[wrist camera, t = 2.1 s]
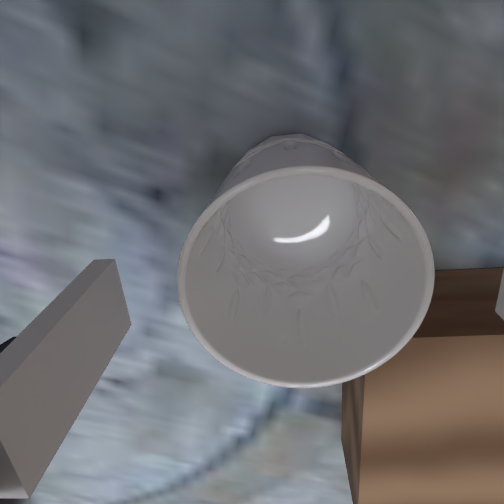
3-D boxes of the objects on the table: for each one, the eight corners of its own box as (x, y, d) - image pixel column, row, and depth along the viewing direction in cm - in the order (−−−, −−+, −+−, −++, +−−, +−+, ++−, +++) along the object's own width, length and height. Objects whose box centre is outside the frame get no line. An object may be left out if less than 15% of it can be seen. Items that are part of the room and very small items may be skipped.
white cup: (391, 153, 20) (491, 224, 11) (326, 278, 23) (361, 414, 14) (245, 97, 19) (220, 122, 10) (200, 235, 22) (151, 349, 13)
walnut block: (344, 275, 23) (366, 339, 17) (597, 262, 22) (706, 327, 16) (341, 439, 29) (357, 526, 23) (540, 437, 28) (604, 527, 22)
